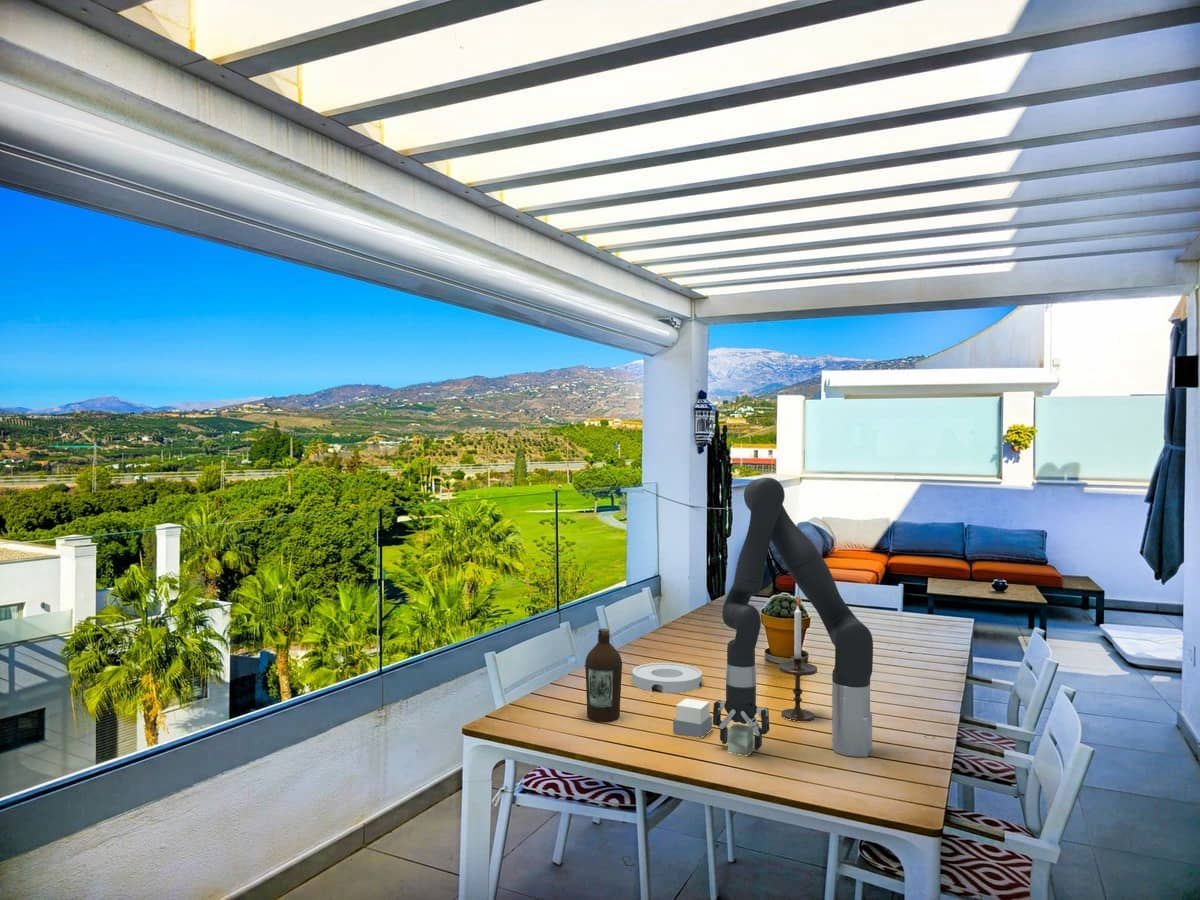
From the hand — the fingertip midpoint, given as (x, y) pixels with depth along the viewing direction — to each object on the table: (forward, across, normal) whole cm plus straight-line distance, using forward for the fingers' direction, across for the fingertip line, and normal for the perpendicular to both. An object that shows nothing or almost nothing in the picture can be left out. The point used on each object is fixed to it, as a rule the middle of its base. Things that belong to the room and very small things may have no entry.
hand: (740, 746), depth 196 cm
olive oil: (+1, +43, -5) cm, 43 cm away
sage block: (+1, 0, 0) cm, 1 cm away
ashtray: (+2, +42, -46) cm, 62 cm away
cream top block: (-2, +16, -7) cm, 18 cm away
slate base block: (+2, +16, -7) cm, 18 cm away
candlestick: (+1, -5, -34) cm, 34 cm away
